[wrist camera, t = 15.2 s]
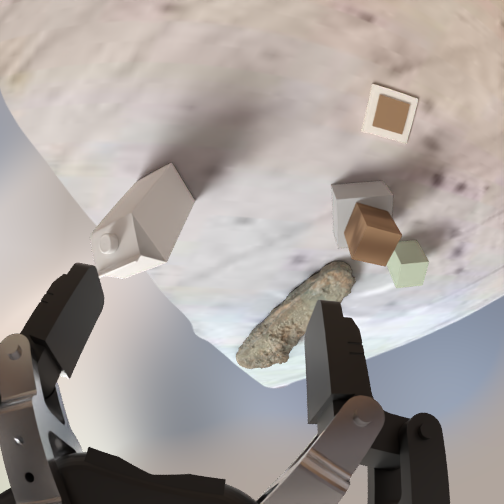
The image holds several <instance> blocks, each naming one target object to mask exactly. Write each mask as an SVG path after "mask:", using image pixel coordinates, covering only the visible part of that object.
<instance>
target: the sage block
mask: <svg viewBox="0 0 504 504" xmlns="http://www.w3.org/2000/svg"><path fill="white" fill-rule="evenodd" d="M428 264H429V261H428V259H427V257H426V256H425V254H424V252H423V250H422V249H421V247H420V245H419V244H418V242H417V240H411V241H399V242H398V244H397V246H396V248H395V250H394V252H393V254H392V256H391V257H390V259H389V261H388V263H387V267H388V270H389V272H390V274H391V277H392V279H393V282H394V284H395V287H396V288H403V287H412V286H420V285H423V282H424V278H425V275H426V271H427V267H428Z"/></svg>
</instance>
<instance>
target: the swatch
mask: <svg viewBox="0 0 504 504" xmlns="http://www.w3.org/2000/svg"><path fill="white" fill-rule="evenodd" d="M417 103H418V99H417V98H414V97H412V96H409V95H406V94H403V93H400V92H397V91H394V90H391V89H388V88H385V87H382V86H379V85H375V84H372V86H371V91H370V95H369V100H368V104H367V109H366V113H365V117H364V122H363V126H362V130H361V131H362V132H365V133H369V134H373V135H377V136H380V137H384V138H387V139H391V140H394V141H398V142H401V143H404V144H406V143H407V140H408V137H409V133H410V129H411V126H412V122H413V118H414V114H415V111H416V107H417Z"/></svg>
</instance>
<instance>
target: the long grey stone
mask: <svg viewBox="0 0 504 504" xmlns="http://www.w3.org/2000/svg"><path fill="white" fill-rule="evenodd" d="M355 282H356V281H355V277H352V270H351V268H350V266H349V265H348V264H346V263H345V262H342V261H339V262H337V261H334V262H331V263H330V264H327V265H326V266H324V267H323V268H322V269H321V270H320V271H319V272H318V273H317V274H315V275H313V276H311V277H310V278H308V279H307V280H306V281H305V283H303V284H301V285H300V286H299V287H298V288H297V289H295V290H293V291H292V292H291V293H289V295H288V296H287V297H286V300H284V301H283V303H281V304H280V306H279V307H277V308H274V309H273V310H272V311H271V313H270V315H269V316H268V317H267V318H266V319H265V320H264V321H263V322H262V323H261V324H260V325H257V326H256V328H254V329H253V330H252V332H251V333H250V334H249V337H247V338H246V340H245V341H244V342H243V344H242V345H241V346H240V347H239V351H238V353H237V354H236V360H237V362H238V364H239V365H240V366H242V367H245V368H249V369H253V368H258V367H259V368H266V367H270V366H272V365H273V364H275V363H279V364H282V362H283V363H285V362H287V360H288V359H289V355H288V354H289V353H290V351H291V350H292V348H293V346H295V345H297V343H298V340H299V339H300V337H301V336H303V335H304V334H305V333H306V328H307V325H308V323H309V320H310V318H311V315H312V313H313V310H314V307H315V305H316V302H317V301H318V300H327V301H337V302H340V303H341V302H342V300H343V298H344V297H345V296H347V295H348V294H350V293H351V288H352V286H353V284H354V283H355Z"/></svg>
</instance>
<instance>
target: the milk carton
mask: <svg viewBox="0 0 504 504" xmlns="http://www.w3.org/2000/svg"><path fill="white" fill-rule="evenodd" d="M194 203H195V200H194V198H193V197H192V195H191V193H190V192H189V190H188V189H187V187H186V185H185V184H184V182H183V180H182V179H181V177H180V175H179V174H178V172H177V170H176V169H175V167H174V165H173V164H172V163H170V164H168V165H166V166H164V167H162V168H160V169H158V170H156V171H155V172H153V173H151V174H149V175H147V176H145V177H144V178H142V179H140V180H138V181H137V182H136V183H135V184H134V185H133V186H132V187H131V188H130V189H129V190H128V191H127V192H126V194H125V195H124V196H123V197H122V198H121V199H120V200H119V201H118V203H117V204H116V205H115V206H114V207H113V208H112V209H111V211H110V212H109V213H108V214H107V215H106V216H105V218H104V219H103V220H102V221H101V222H100V224H99V225H98V226H97V227H96V229H95V230H94V231H93V232H92V234H91V235H90V241H91V248H92V254H93V259H94V265H95V267H96V268H97V272H98V275H99V278H101V277H103V276H110V277H116V278H122V279H125V278H127V277H130V276H133V275H135V274H138V273H141V272H143V271H146V270H149V269H151V268H154V267H157V266H159V265H162V264H164V263H167V261H168V259H169V256H170V254H171V252H172V250H173V248H174V245H175V243H176V241H177V239H178V237H179V234H180V232H181V230H182V228H183V226H184V224H185V222H186V220H187V217H188V215H189V213H190V211H191V209H192V207H193V205H194Z"/></svg>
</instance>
